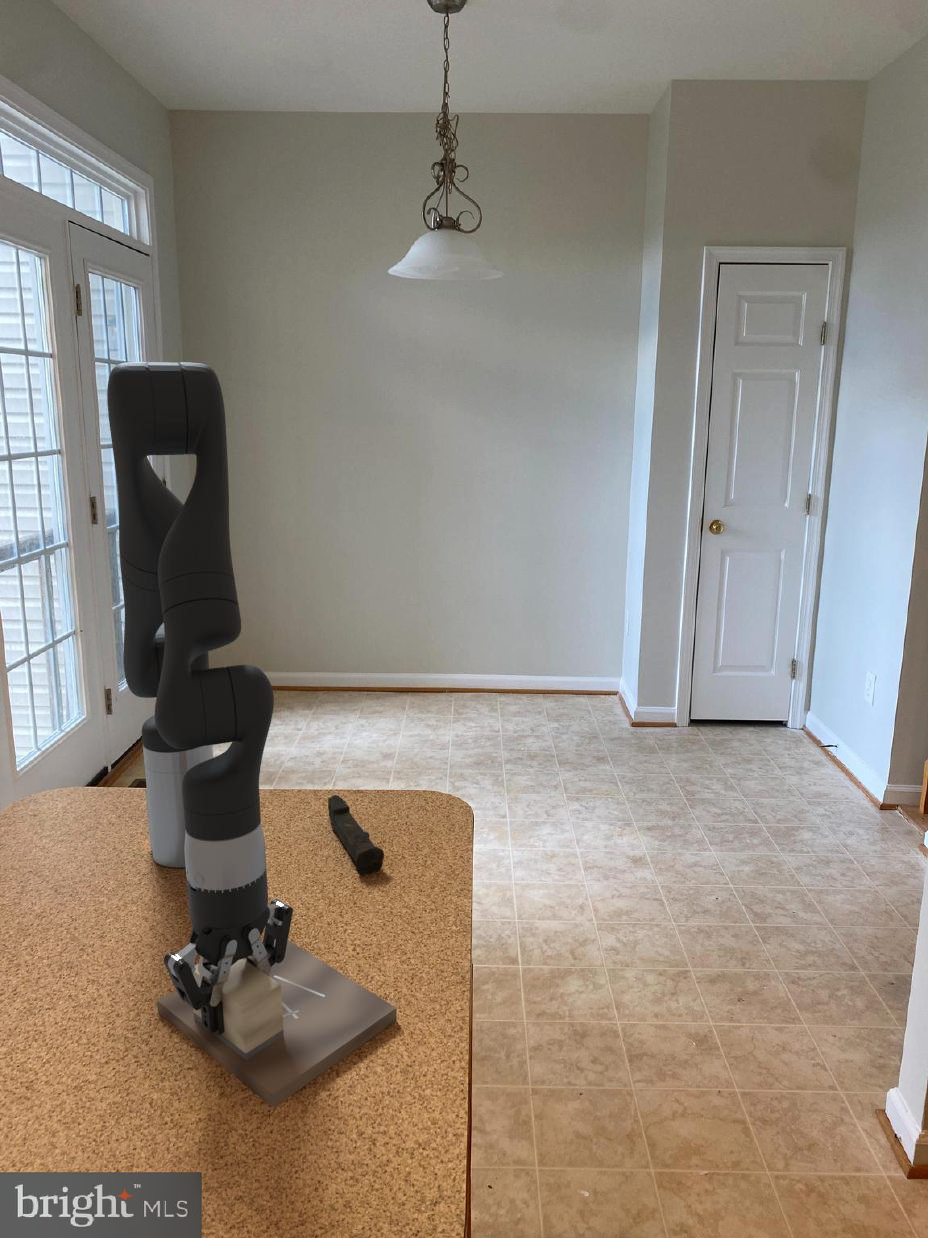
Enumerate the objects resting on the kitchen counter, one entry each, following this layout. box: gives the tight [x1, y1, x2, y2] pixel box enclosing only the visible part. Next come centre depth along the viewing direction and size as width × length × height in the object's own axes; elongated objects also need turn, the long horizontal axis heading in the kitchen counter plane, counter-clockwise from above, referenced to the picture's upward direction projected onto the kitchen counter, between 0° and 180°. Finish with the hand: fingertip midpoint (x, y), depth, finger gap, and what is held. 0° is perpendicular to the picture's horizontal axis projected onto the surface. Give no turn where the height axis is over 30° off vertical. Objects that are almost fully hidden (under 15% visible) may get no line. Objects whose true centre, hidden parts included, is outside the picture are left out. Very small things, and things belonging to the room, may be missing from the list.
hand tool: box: [327, 794, 385, 876], centre depth 131 cm, size 19×4×5 cm, turn 22°
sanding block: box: [193, 959, 284, 1061], centre depth 90 cm, size 9×4×6 cm, turn 49°
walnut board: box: [156, 939, 398, 1109], centre depth 95 cm, size 20×16×2 cm
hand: (237, 1017), depth 91 cm, fingers closed on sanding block, 4 cm apart
